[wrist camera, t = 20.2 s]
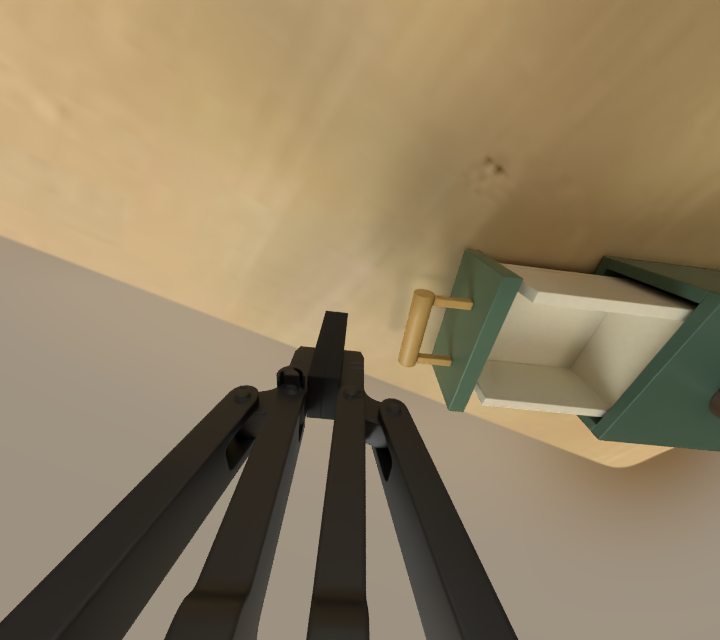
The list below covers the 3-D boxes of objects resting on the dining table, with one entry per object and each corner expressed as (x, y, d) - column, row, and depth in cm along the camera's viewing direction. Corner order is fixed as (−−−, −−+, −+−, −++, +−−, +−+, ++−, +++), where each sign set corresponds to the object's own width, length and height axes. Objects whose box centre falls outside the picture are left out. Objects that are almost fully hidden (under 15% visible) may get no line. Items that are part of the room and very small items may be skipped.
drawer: (388, 355, 25) (395, 405, 19) (412, 242, 20) (431, 267, 14) (562, 373, 26) (615, 427, 20) (630, 269, 20) (728, 303, 15)
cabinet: (536, 370, 27) (598, 440, 20) (603, 255, 21) (727, 296, 14) (668, 384, 27) (775, 457, 20) (770, 276, 21) (971, 326, 14)
